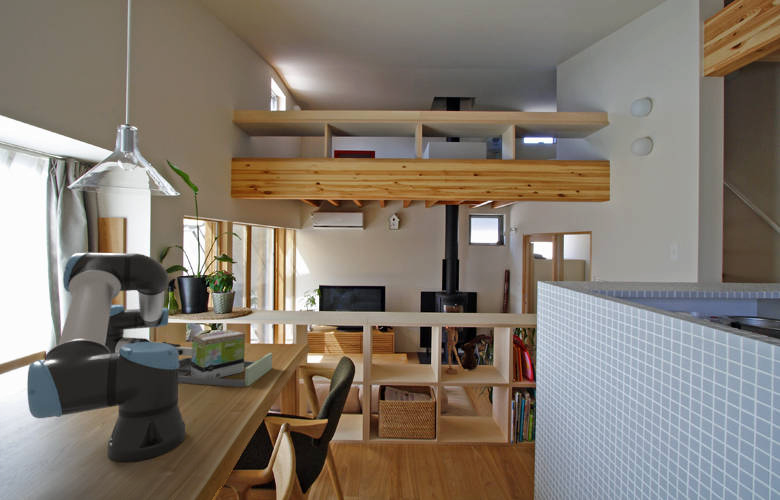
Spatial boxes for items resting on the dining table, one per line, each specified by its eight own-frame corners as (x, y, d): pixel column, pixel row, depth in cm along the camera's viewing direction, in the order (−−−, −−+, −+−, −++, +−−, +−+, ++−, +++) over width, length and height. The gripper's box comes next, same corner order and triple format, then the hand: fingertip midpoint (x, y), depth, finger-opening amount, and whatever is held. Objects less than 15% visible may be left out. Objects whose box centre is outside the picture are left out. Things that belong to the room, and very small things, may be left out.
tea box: (203, 383, 121) (204, 340, 121) (190, 376, 127) (191, 335, 127) (244, 371, 133) (245, 332, 133) (230, 366, 139) (231, 328, 139)
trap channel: (243, 387, 119) (243, 381, 119) (146, 380, 122) (146, 374, 122) (269, 367, 139) (270, 362, 139) (186, 362, 142) (186, 357, 142)
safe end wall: (248, 386, 120) (248, 368, 120) (244, 385, 120) (245, 368, 120) (271, 368, 137) (272, 353, 137) (268, 368, 138) (269, 352, 138)
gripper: (147, 353, 140) (203, 356, 138) (118, 363, 127) (179, 367, 125) (147, 334, 140) (203, 337, 138) (119, 342, 127) (180, 346, 125)
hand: (192, 351), depth 131 cm, fingers closed
